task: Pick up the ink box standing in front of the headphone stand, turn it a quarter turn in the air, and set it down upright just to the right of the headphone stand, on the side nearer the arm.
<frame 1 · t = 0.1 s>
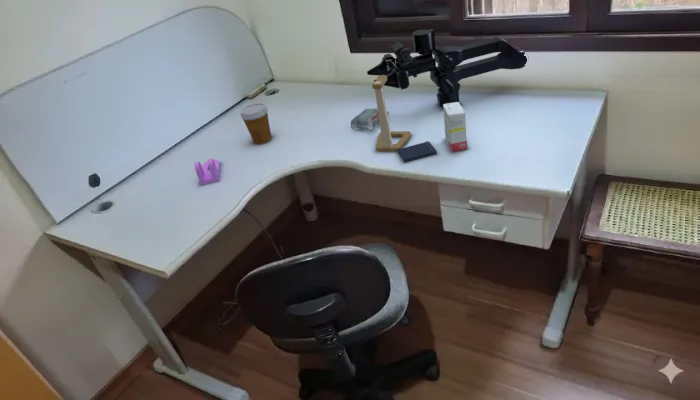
hand: (370, 77, 166), 17 cm above the table, tool horizontal, fingers open, 9 cm apart
disposable coffee cup: (262, 140, 182), on the table
packaged food: (371, 126, 175), on the table
bracket: (211, 173, 168), on the table
ink box: (456, 145, 154), on the table
headphone stand: (392, 143, 162), on the table
notepad: (417, 153, 154), on the table
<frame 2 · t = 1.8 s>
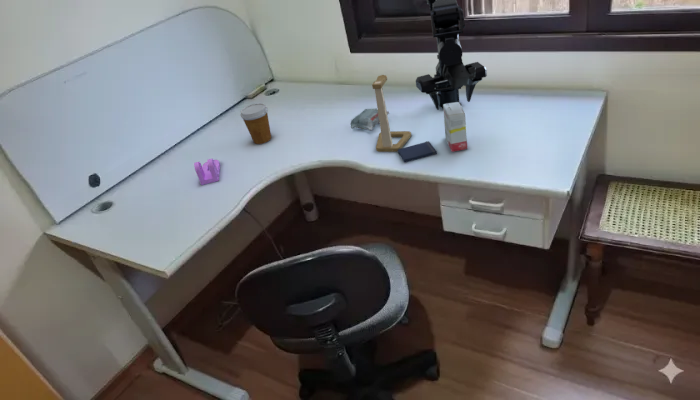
hand: (453, 105, 147), 13 cm above the table, tool pointing down, fingers open, 9 cm apart
nothing on the table moved.
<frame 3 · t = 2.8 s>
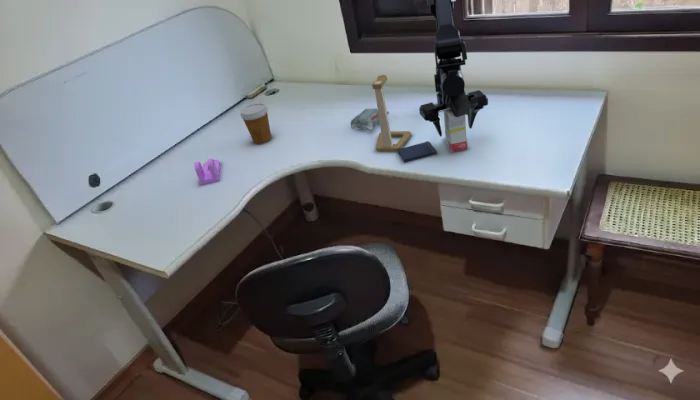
hand: (455, 132, 152), 4 cm above the table, tool pointing down
ink box: (456, 145, 154), on the table, touching gripper
everything else where it was.
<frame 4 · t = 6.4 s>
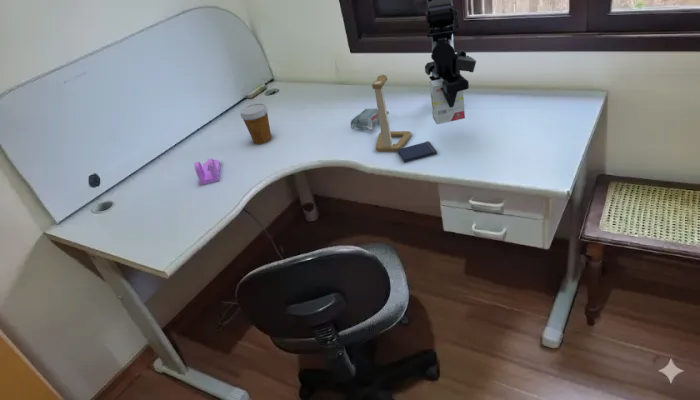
hand: (448, 103, 150), 12 cm above the table, tool pointing down, fingers closed on ink box, 5 cm apart
ink box: (448, 119, 152), point 8 cm above the table, touching gripper
everything else where it was.
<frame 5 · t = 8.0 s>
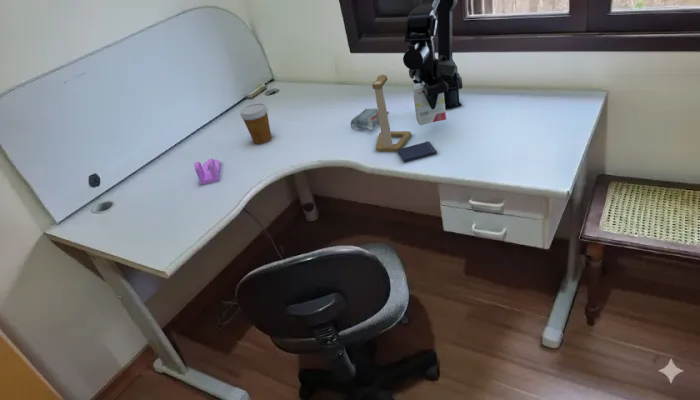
hand: (430, 105, 158), 9 cm above the table, tool pointing down, fingers closed on ink box, 5 cm apart
ink box: (431, 120, 161), point 4 cm above the table, touching gripper
everything else where it was.
when the fingers open (5 cm above the table, at t = 9.6 s): ink box stays where it is, on the table.
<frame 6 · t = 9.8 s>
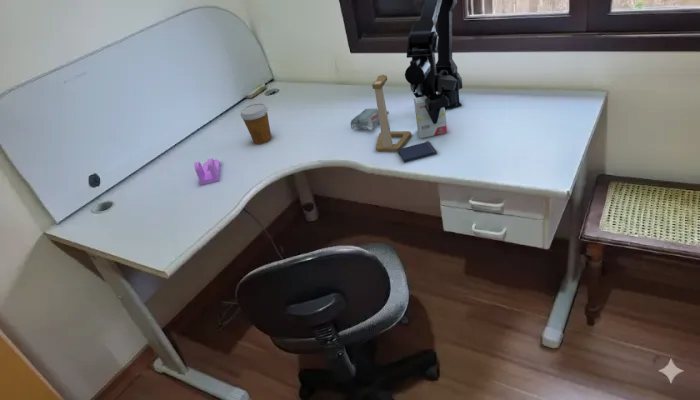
hand: (431, 119, 161), 5 cm above the table, tool pointing down, fingers open, 7 cm apart
ink box: (432, 133, 163), on the table
everything else where it was.
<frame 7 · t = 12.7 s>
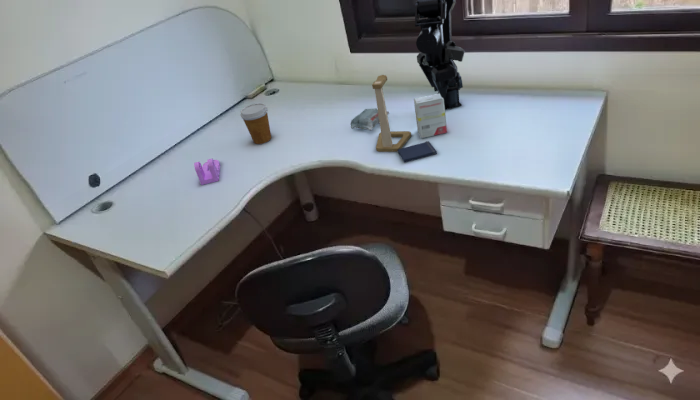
hand: (438, 91, 156), 13 cm above the table, tool pointing down, fingers open, 9 cm apart
nothing on the table moved.
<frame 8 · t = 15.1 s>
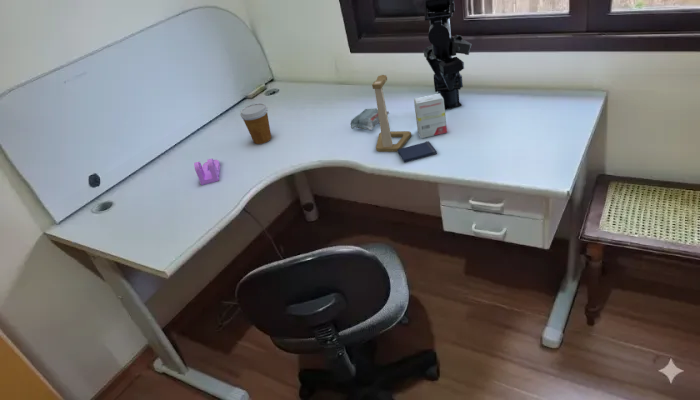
hand: (445, 85, 159), 13 cm above the table, tool pointing down, fingers open, 9 cm apart
nothing on the table moved.
at the end: ink box inside the target area on the table beside the headphone stand (0.3 cm from its centre), on the table; ink box tilted 0°; headphone stand moved 0.2 cm from its start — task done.
